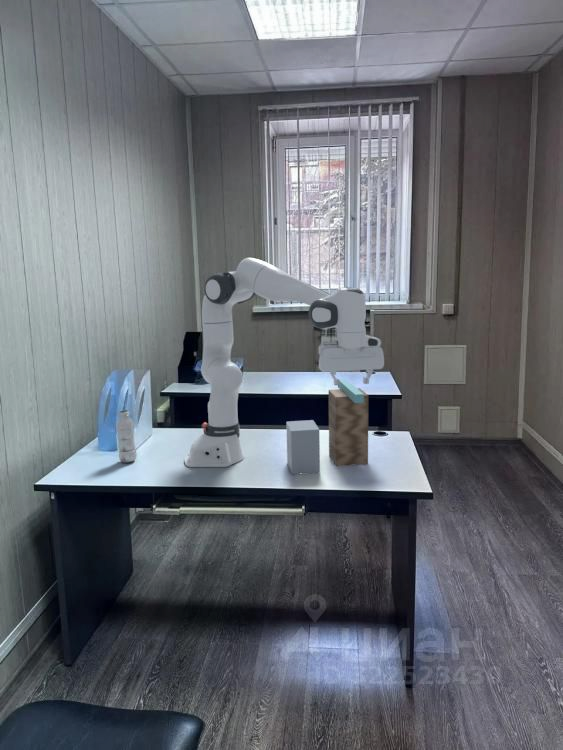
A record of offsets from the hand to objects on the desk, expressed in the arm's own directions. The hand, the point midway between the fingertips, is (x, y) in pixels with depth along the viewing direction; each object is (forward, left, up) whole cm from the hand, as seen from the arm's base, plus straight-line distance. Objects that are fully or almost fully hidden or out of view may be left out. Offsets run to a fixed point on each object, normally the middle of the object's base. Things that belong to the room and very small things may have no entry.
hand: (351, 384), depth 170 cm
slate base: (-12, +23, -35) cm, 44 cm away
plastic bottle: (-77, +42, -36) cm, 95 cm away
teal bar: (+6, +25, -9) cm, 27 cm away
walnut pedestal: (+6, +28, -35) cm, 45 cm away
